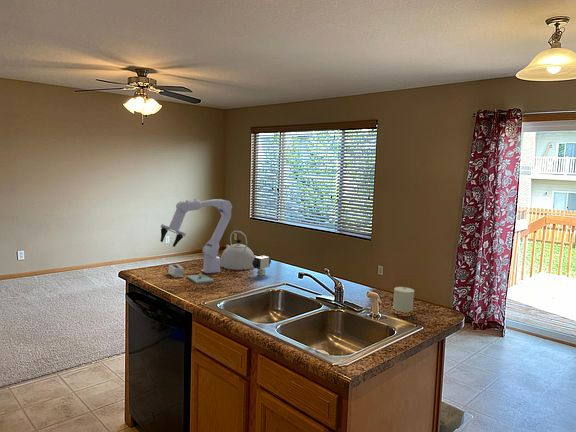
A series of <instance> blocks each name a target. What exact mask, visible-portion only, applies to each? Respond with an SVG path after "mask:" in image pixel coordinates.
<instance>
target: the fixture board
mask: <svg viewBox="0 0 576 432" xmlns="http://www.w3.org/2000/svg"><path fill="white" fill-rule="evenodd" d="M186 278H187V279H189V280H190V281H192V282H193V283H195V284H196V285H199V284H207V283H214V282H215V281H214V279H213V278H211V277H210V276H208V275H206V274H204V273H202V278H199V274H191V275H187V276H186Z"/></svg>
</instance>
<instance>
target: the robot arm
mask: <svg viewBox="0 0 576 432" xmlns="http://www.w3.org/2000/svg"><path fill="white" fill-rule="evenodd" d="M204 207H215V208H216V210H218V212H219V213H220V215H221V216H220V219H219V221H218V223H217V225H216V228H215V229H214V231H213V233H212V236H211V237H210V239H209V240H208V241H207V242H206V244H204V246H202V250H201V251H202V254H203V269H200V270H201V272H202V273H205V274H212V273H214V274H215V273H220V272H221V266H220V259H221V257H220V256H218V255H219V250H220V242H221V239H222V237H223V235H224V233H225V230H226V229H227V227H228V224H229V222H230V220H231V218H232V210H233V205H232V203H231V202H230V200H226V199H222V198H219V199H217V198H216V199H215V198H214V199H207V200H203V201H202V200H201V201H200V199H196V198H194V199H193V200H187V199H186V200H185V201H182V200H181V201H179V202H177V204H176V205H175V208H176V209H175V211H174V215H173V216H172V219H171V221H170V224H169V225H165V224H161V225H160V228H161V229H160V231H161V233H160V240H159V241H160V242H162V243H163V242H164V240H165V237H166V236H167V233H168V231H169V232H172V233H174V234H176V237H175V240H174V242H173V244H172V247H174V248H175V247H177V244H178V243H179V242H180V241H181V240H182V239H183V238H184V237H186V234H187V233H186V232H183V231H181V230H180V229H181V226H182V223H183V221H184V219H185V216H186V214H187V213H188V212H191V211H199V210H200V209H202V208H204Z"/></svg>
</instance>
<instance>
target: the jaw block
mask: <svg viewBox="0 0 576 432" xmlns="http://www.w3.org/2000/svg"><path fill="white" fill-rule="evenodd" d="M184 270H185V268H184V267H183V266H181V265H180V264H177V263H176V264H168V274H169V275H170V276H172V278H176V279H177V278H184V273H185V272H184Z"/></svg>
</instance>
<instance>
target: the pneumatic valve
mask: <svg viewBox="0 0 576 432" xmlns="http://www.w3.org/2000/svg"><path fill="white" fill-rule="evenodd" d="M271 263H272V260H271V257H270V256H267V255H258V256H254V260H253V263H252V264H253V266H254V268H253V269H257V270H256V274H257V276H260V277H263V276H265V275H266V268H270V266H271V265H270V264H271ZM262 275H263V276H262Z"/></svg>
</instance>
